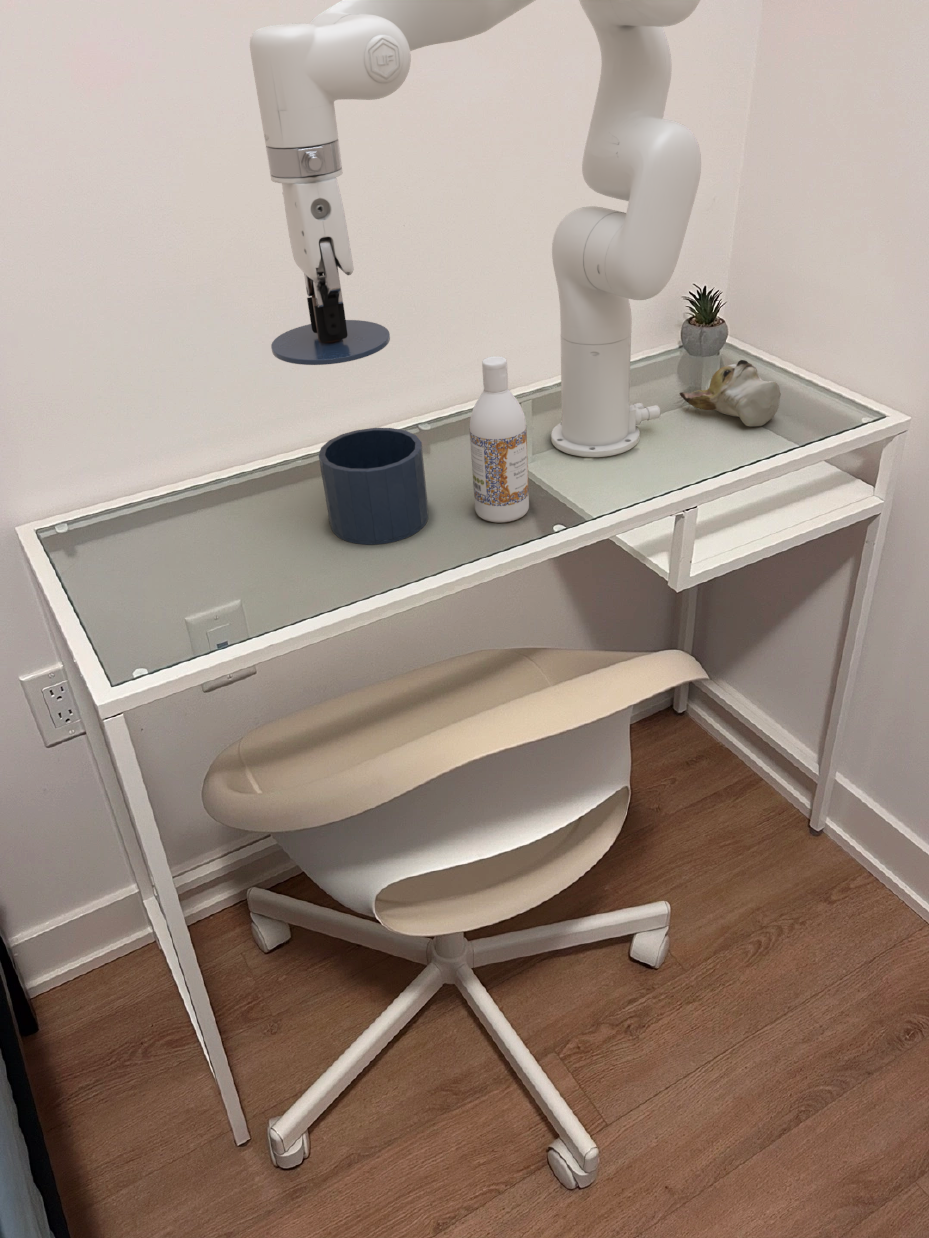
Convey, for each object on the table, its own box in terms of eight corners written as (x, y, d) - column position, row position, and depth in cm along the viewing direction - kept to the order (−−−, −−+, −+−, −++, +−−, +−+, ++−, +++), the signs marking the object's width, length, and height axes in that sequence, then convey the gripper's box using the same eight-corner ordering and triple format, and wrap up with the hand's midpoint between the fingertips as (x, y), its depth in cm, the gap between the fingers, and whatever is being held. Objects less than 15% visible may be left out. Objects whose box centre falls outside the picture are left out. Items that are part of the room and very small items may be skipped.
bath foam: (503, 530, 125) (494, 375, 114) (464, 513, 129) (452, 362, 118) (540, 509, 129) (536, 357, 118) (501, 493, 133) (493, 346, 122)
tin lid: (372, 322, 123) (366, 271, 120) (405, 356, 112) (399, 300, 109) (262, 342, 120) (253, 289, 116) (286, 379, 109) (276, 322, 105)
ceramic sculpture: (747, 379, 137) (676, 356, 148) (743, 440, 141) (675, 413, 153) (805, 362, 141) (732, 341, 152) (800, 422, 145) (730, 396, 157)
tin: (411, 489, 136) (403, 420, 130) (441, 531, 126) (435, 458, 120) (320, 509, 133) (309, 439, 127) (344, 554, 123) (332, 480, 117)
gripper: (360, 169, 99) (381, 350, 110) (321, 146, 112) (343, 310, 122) (285, 179, 97) (314, 363, 108) (255, 155, 110) (283, 321, 121)
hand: (329, 333), depth 115 cm, fingers closed on tin lid, 2 cm apart
